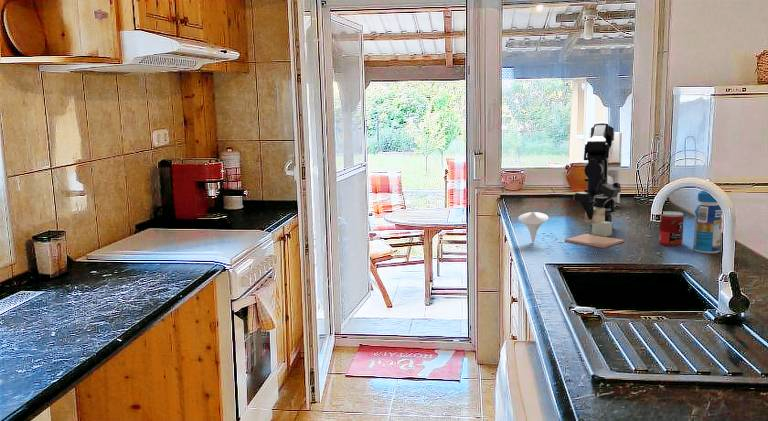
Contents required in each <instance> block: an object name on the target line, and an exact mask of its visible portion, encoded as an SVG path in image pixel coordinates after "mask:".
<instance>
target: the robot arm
mask: <svg viewBox="0 0 768 421" xmlns="http://www.w3.org/2000/svg"><path fill="white" fill-rule="evenodd" d="M590 132H591V138H590V139H589V138H588V139H587V141H586V143H585V144H584V152H583V153H584V154H583V161H587V164H586V165H585V167H584V170H583V171H584V174H585V176H586V178H584V182H586V189H584V191H578V192H575V193H574V194H573V201H574V202H579V203H580V205H581V206H582V208H583V210H584V213H585V212H586V214H587V216H588V218H589V219H592V217H593V209H594V207H601V208H605V221H607V222H612V223H613V220H612V218H613V217H612V213H615V208H616V207H615V201H614V200H613V197H617V195H618V193H619V192H620V193H621V188H622V187H621V183H620V184H619V183H614V184H613V185H612V184H609V183H607V179H608V158H609V149H610V147H611V145H612V141H614V132H615V130H614V127H613V126H610V125H609V123H608V122H595V123H594V124H593V127H591V128H590ZM589 226H590V227H592V224H590V225H589ZM612 227H614V226H613V224H612Z"/></svg>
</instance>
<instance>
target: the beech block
mask: <svg viewBox="0 0 768 421" xmlns="http://www.w3.org/2000/svg"><path fill="white" fill-rule="evenodd" d="M584 222H585V223H590V224H592V223H596V224H597V223H601V222H605V208H601V207H594V209H593V217H592V219H589V218H588V216H587V214H586V212H585V211H584Z"/></svg>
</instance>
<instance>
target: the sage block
mask: <svg viewBox="0 0 768 421" xmlns="http://www.w3.org/2000/svg"><path fill="white" fill-rule="evenodd" d="M591 225H592V226H591V235H595V236H602V237H610V236H612V235H613V226H612V225H613V221H612V222H607V221H605V222H601V223H597V224H596V223H591Z"/></svg>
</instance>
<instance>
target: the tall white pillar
mask: <svg viewBox="0 0 768 421" xmlns="http://www.w3.org/2000/svg"><path fill="white" fill-rule="evenodd" d="M622 134H623V133H622V132H619V131H618V132H616V131H614V141H612V145H611V147H610V149H609V158H608V179H607V183H609V184H612V185H613V184H614V183H619V184H620V185H621V168H622V167H621V166H622ZM590 138H591V131H590V132H589V138H588V139H590ZM620 197H621V192H619V193H618V195H617V197H613V200H614V201H615V208H617V207H616V206H619V207H620V204H621V202H620Z"/></svg>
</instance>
